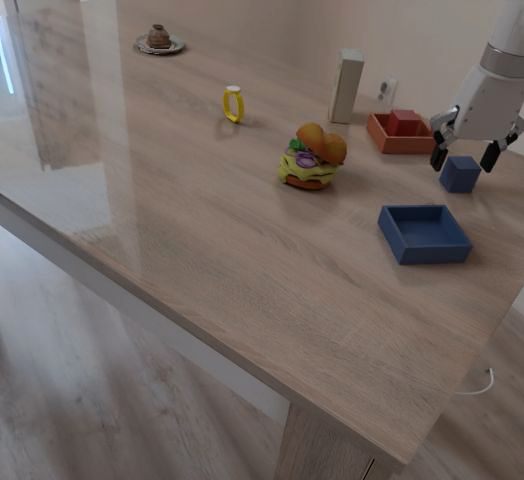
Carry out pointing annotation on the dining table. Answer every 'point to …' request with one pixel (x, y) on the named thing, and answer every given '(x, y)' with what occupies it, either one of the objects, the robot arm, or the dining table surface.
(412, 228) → the blue tray
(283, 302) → the dining table surface
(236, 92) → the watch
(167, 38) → the pastry
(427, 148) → the terracotta tray
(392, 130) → the red block
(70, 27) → the dining table surface
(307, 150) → the cheeseburger
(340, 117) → the cosmetic box
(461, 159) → the blue block
